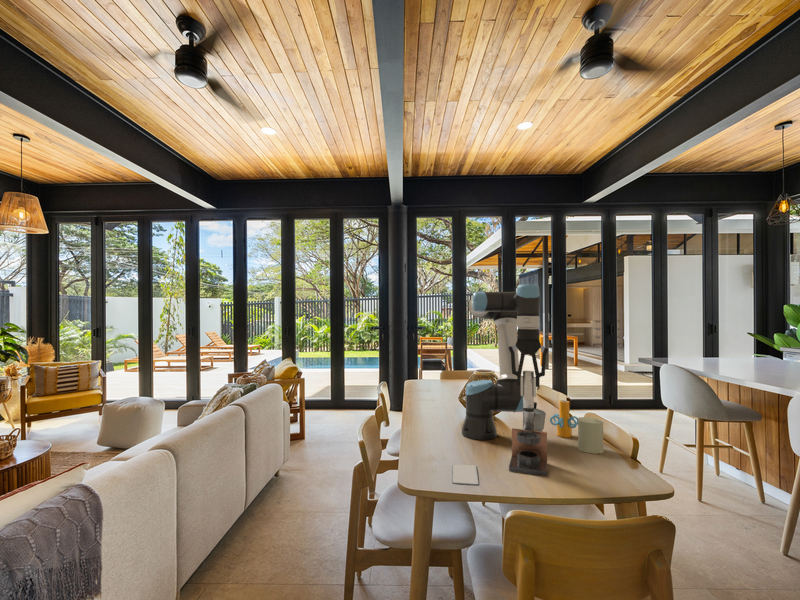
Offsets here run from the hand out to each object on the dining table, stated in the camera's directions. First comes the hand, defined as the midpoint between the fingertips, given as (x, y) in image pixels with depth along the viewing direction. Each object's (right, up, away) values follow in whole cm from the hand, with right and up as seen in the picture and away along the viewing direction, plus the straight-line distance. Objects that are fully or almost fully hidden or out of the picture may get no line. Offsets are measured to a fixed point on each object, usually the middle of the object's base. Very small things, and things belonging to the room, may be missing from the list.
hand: (528, 395), depth 135 cm
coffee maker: (+8, -26, +18) cm, 32 cm away
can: (+30, -26, +17) cm, 44 cm away
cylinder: (+27, -26, +35) cm, 51 cm away
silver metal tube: (0, -12, 0) cm, 12 cm away
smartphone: (-23, -25, -8) cm, 35 cm away
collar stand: (0, -25, -1) cm, 25 cm away
